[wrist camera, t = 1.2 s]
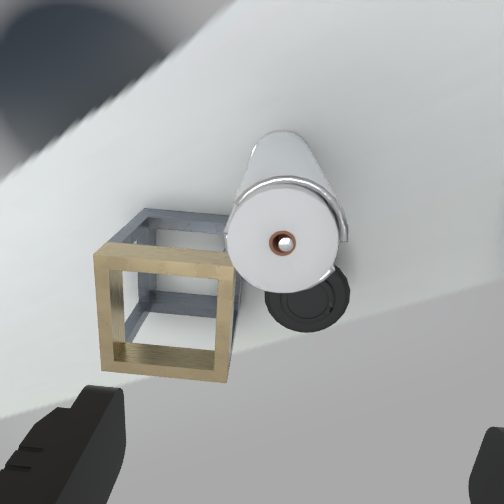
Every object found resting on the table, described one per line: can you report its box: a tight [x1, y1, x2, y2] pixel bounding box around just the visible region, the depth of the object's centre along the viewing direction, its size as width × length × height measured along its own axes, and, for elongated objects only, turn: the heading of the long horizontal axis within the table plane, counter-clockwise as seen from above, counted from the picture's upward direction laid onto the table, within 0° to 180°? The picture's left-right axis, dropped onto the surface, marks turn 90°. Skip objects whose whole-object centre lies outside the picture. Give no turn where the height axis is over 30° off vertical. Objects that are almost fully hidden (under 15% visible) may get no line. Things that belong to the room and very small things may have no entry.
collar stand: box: [93, 208, 242, 383], centre depth 42 cm, size 11×11×14 cm
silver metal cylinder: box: [224, 131, 348, 293], centre depth 32 cm, size 6×6×25 cm
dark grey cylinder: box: [265, 264, 350, 333], centre depth 43 cm, size 8×8×10 cm
